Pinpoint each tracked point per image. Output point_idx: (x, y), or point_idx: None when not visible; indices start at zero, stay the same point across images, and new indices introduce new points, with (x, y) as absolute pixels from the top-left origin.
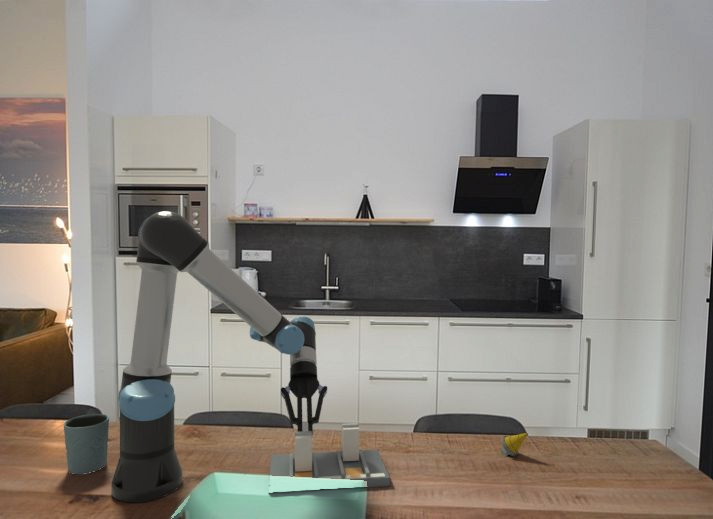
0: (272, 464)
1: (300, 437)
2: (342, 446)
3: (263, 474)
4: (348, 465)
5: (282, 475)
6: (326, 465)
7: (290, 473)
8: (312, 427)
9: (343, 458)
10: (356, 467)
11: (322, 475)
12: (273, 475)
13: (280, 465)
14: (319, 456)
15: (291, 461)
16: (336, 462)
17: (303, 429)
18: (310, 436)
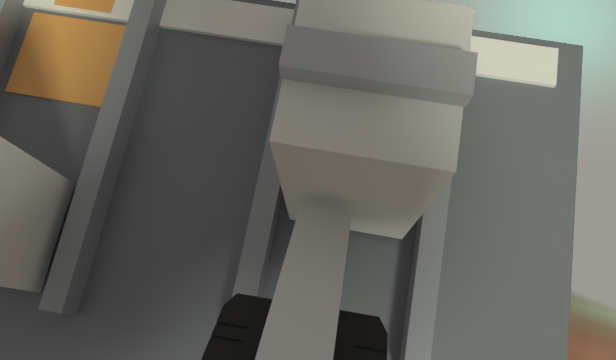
0: (554, 308)
1: (417, 14)
2: (14, 212)
3: (591, 302)
4: (62, 142)
5: (495, 132)
6: (195, 182)
7: None
8: (205, 352)
9: (63, 178)
10: (29, 102)
11: (258, 66)
12: (551, 145)
13: (498, 275)
14: (198, 336)
15: (431, 231)
16: (118, 205)
17: (324, 324)
18: (312, 9)
